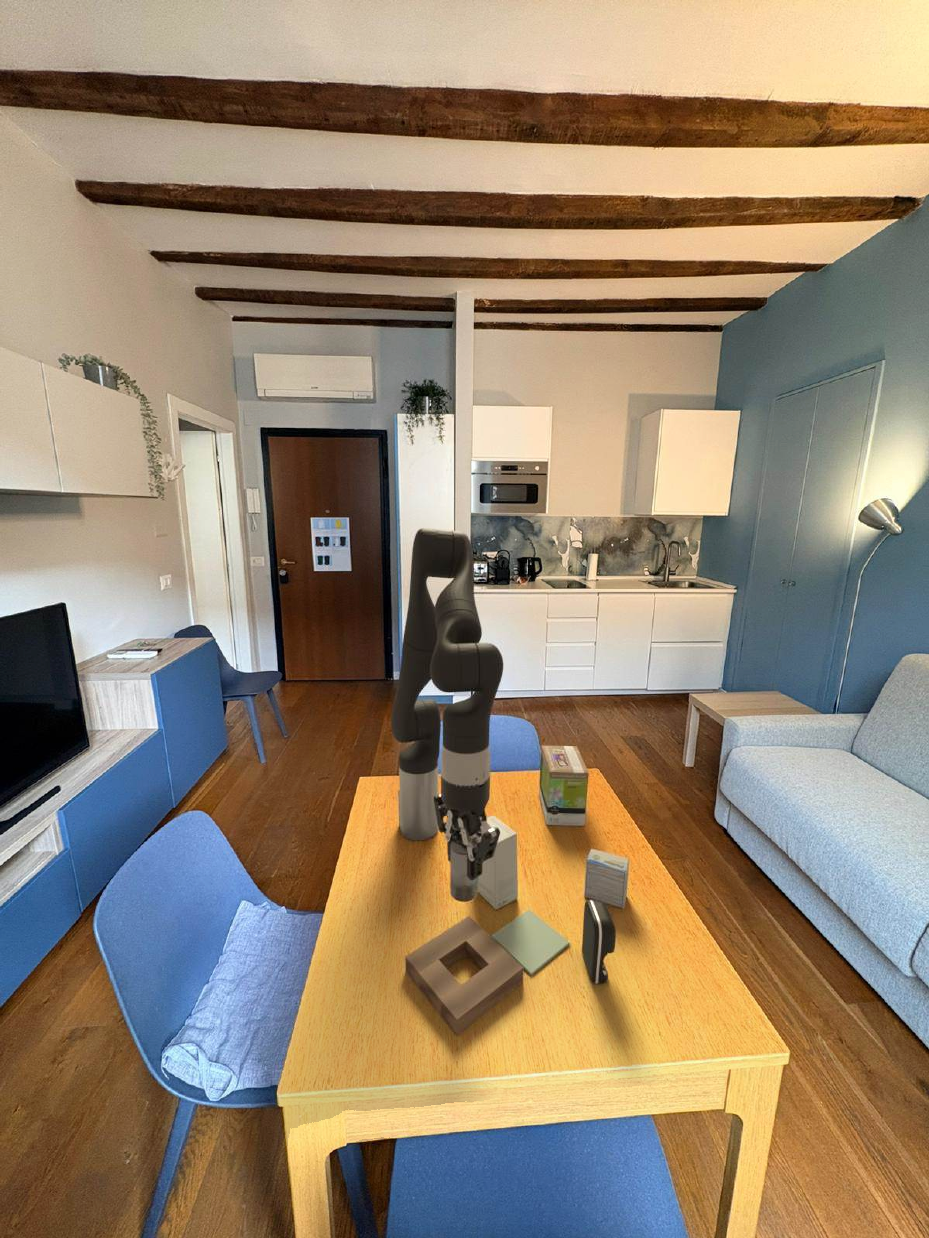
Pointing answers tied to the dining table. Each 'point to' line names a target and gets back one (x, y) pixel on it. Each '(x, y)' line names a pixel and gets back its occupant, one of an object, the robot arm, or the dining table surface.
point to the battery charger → (597, 939)
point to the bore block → (476, 993)
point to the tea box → (563, 785)
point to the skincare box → (500, 868)
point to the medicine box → (606, 878)
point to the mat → (530, 941)
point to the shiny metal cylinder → (461, 872)
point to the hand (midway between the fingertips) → (464, 868)
